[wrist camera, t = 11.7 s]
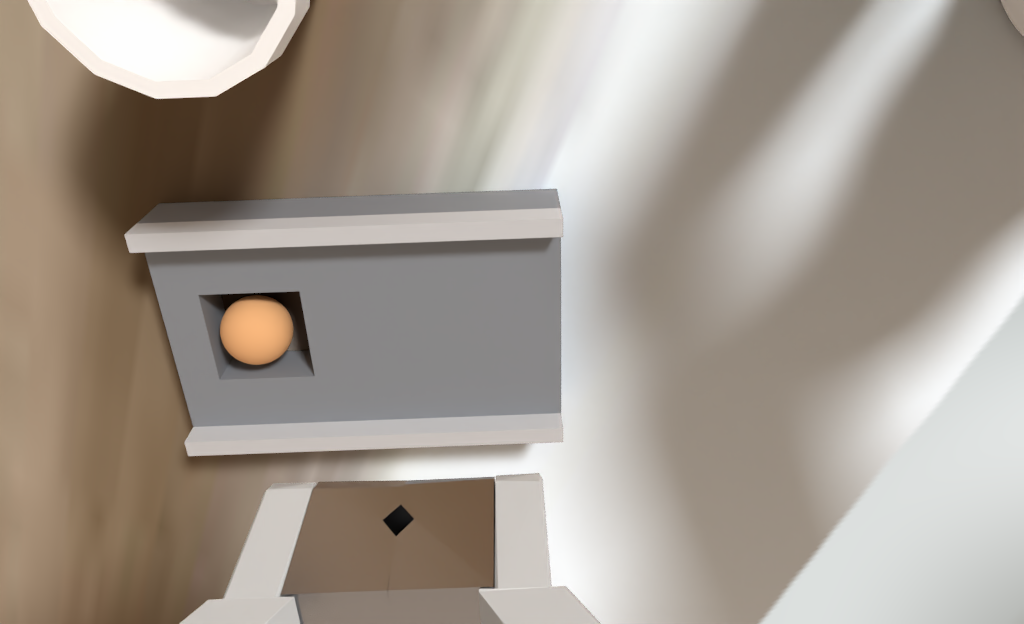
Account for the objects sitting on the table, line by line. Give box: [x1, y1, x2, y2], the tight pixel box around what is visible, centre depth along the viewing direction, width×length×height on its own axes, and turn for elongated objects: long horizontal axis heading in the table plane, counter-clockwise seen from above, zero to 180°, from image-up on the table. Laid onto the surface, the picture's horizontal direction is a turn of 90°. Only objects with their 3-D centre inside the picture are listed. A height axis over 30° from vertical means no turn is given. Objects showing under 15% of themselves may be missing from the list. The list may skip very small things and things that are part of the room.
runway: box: [124, 189, 563, 456], centre depth 44 cm, size 22×14×4 cm, turn 92°
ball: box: [220, 295, 293, 365], centre depth 44 cm, size 4×4×4 cm
